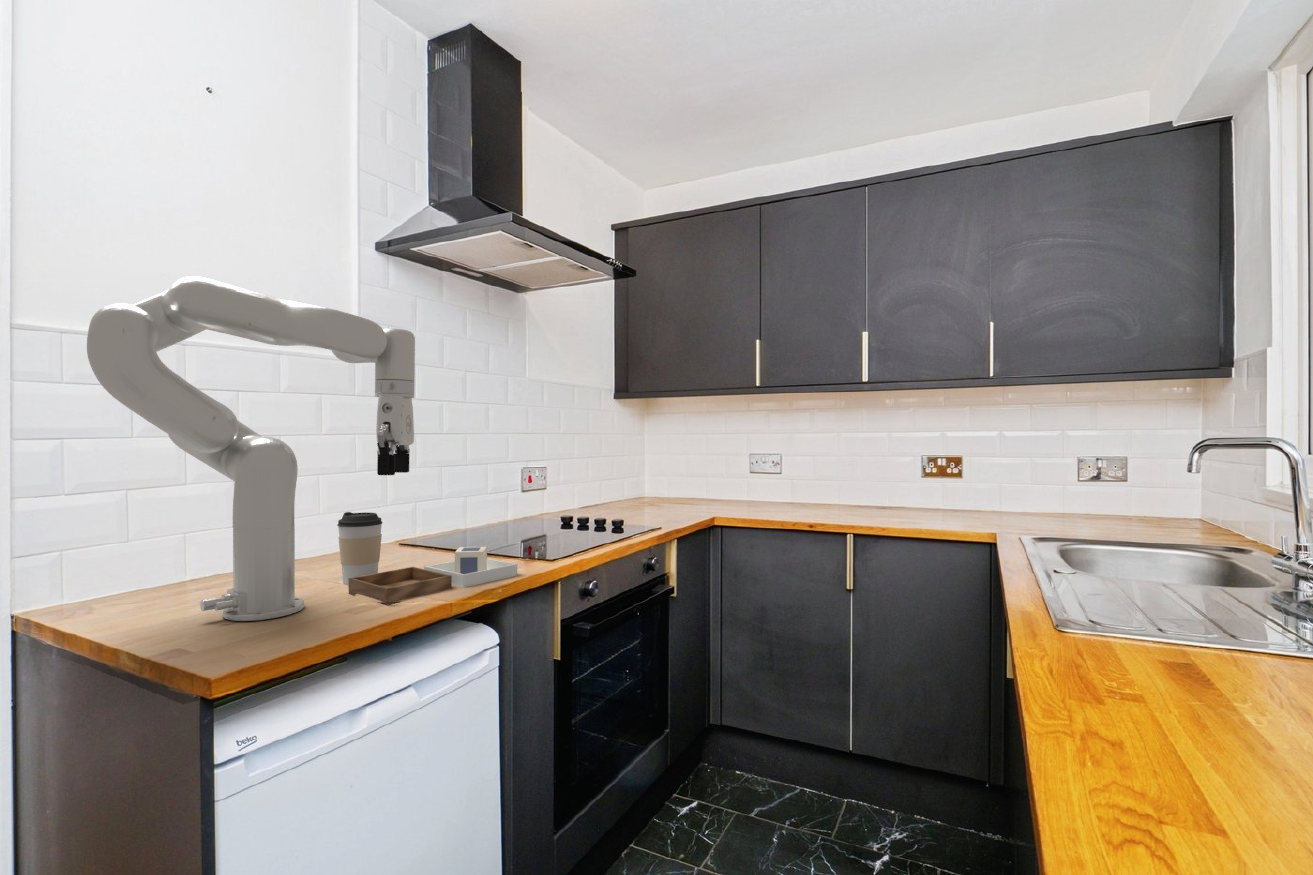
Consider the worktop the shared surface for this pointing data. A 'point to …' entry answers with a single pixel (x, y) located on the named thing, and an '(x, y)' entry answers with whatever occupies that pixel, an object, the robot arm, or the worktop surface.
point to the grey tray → (492, 573)
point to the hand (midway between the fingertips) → (393, 473)
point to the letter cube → (470, 559)
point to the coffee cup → (359, 544)
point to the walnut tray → (399, 584)
